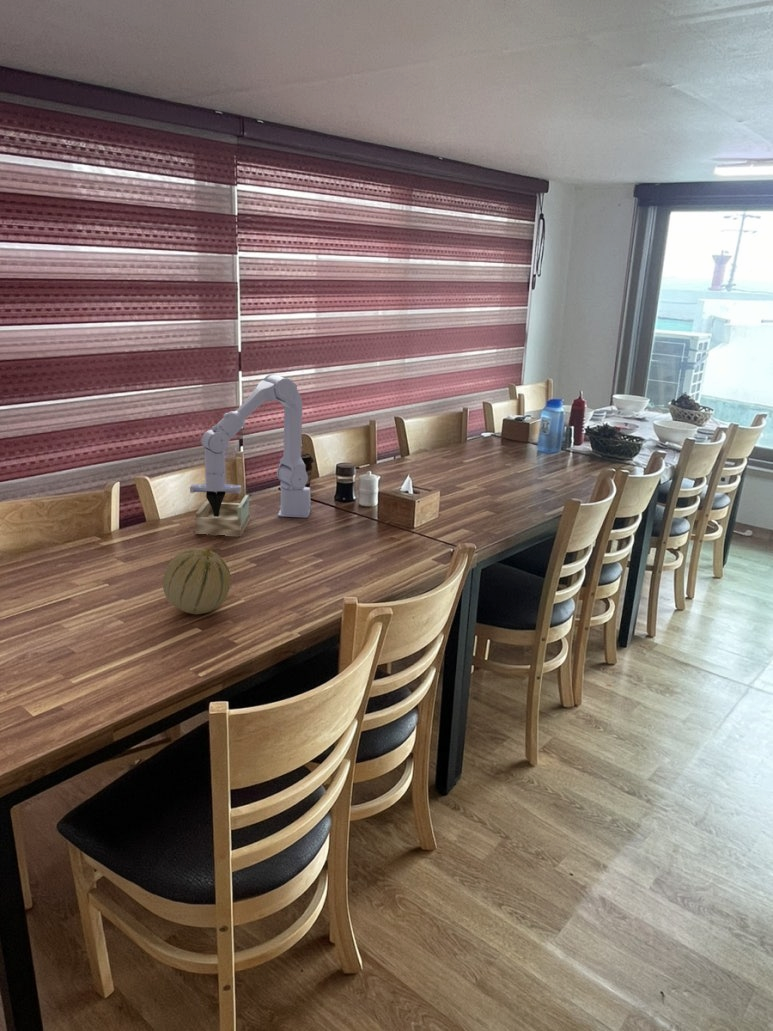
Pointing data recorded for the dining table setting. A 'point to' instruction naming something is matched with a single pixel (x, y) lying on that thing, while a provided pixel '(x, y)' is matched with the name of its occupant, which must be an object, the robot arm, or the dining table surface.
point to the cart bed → (219, 520)
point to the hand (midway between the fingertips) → (216, 515)
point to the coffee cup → (307, 466)
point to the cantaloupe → (196, 581)
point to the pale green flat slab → (243, 509)
